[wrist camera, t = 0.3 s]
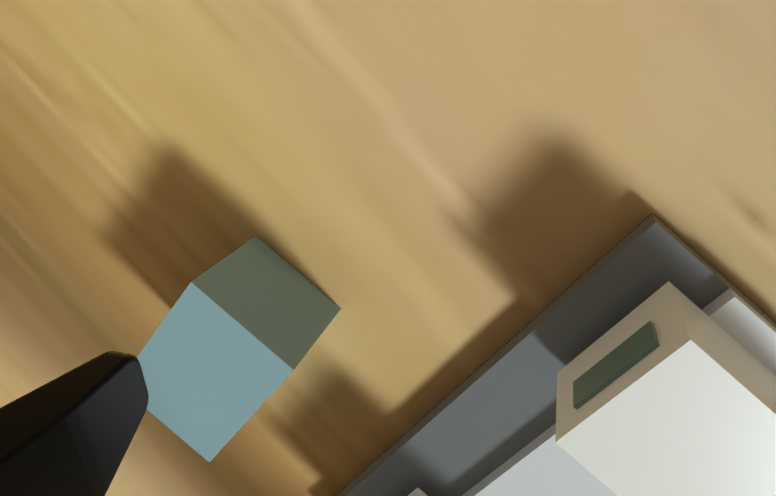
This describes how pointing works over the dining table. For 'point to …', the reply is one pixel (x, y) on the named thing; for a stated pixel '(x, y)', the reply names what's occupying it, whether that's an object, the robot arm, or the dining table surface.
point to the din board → (535, 368)
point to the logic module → (231, 344)
